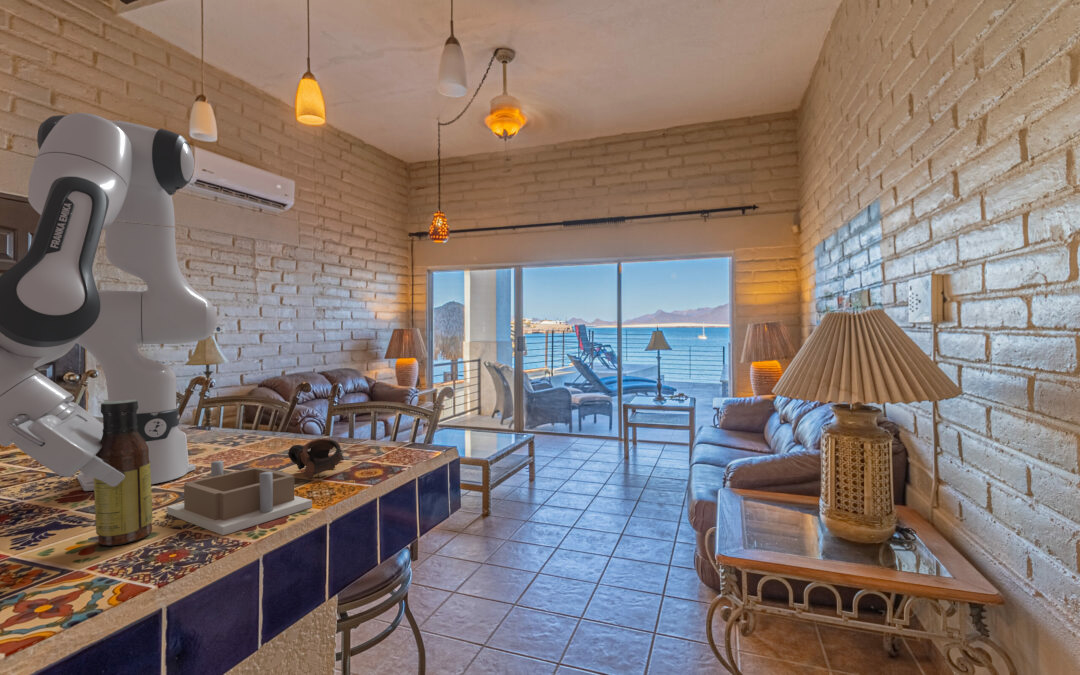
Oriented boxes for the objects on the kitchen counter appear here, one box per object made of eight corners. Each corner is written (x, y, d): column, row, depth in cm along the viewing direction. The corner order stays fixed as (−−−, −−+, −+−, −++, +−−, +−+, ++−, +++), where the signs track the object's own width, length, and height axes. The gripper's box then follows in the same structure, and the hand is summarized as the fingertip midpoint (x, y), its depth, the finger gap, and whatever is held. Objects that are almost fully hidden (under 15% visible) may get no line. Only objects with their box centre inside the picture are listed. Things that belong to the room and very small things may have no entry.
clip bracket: (167, 513, 81) (167, 470, 81) (254, 491, 93) (253, 453, 93) (223, 535, 72) (222, 485, 72) (312, 507, 83) (311, 464, 84)
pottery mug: (349, 468, 112) (351, 439, 108) (330, 498, 103) (331, 468, 100) (297, 455, 111) (297, 426, 108) (273, 484, 103) (273, 454, 99)
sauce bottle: (134, 528, 75) (134, 397, 75) (163, 533, 73) (162, 398, 73) (82, 545, 69) (81, 402, 69) (111, 551, 66) (110, 404, 67)
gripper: (30, 400, 58) (138, 470, 64) (67, 388, 75) (149, 445, 80) (-26, 443, 55) (91, 512, 61) (25, 421, 72) (113, 477, 78)
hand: (124, 474), depth 71 cm, fingers open, 8 cm apart
